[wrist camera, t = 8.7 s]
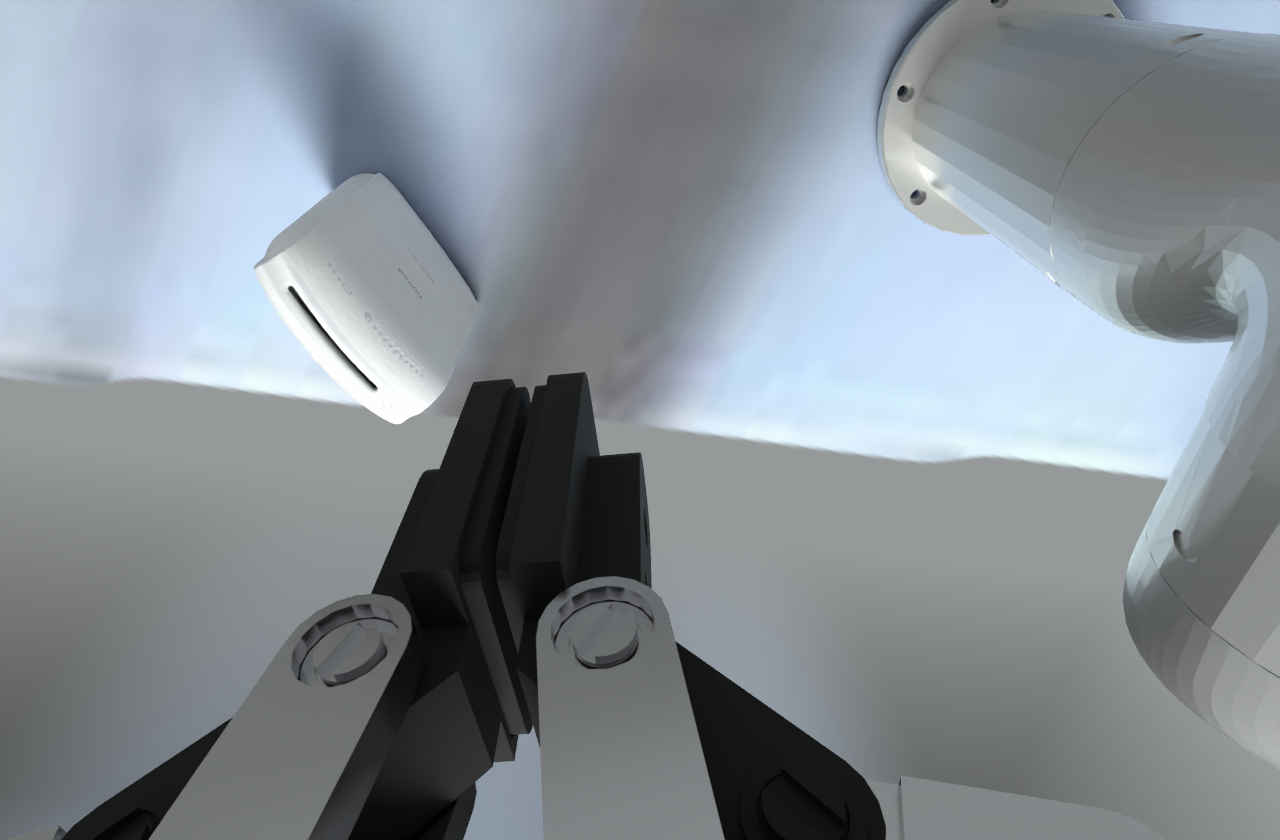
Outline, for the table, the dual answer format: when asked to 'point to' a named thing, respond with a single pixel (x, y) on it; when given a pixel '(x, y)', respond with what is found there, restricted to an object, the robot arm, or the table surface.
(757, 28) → the table surface
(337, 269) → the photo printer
